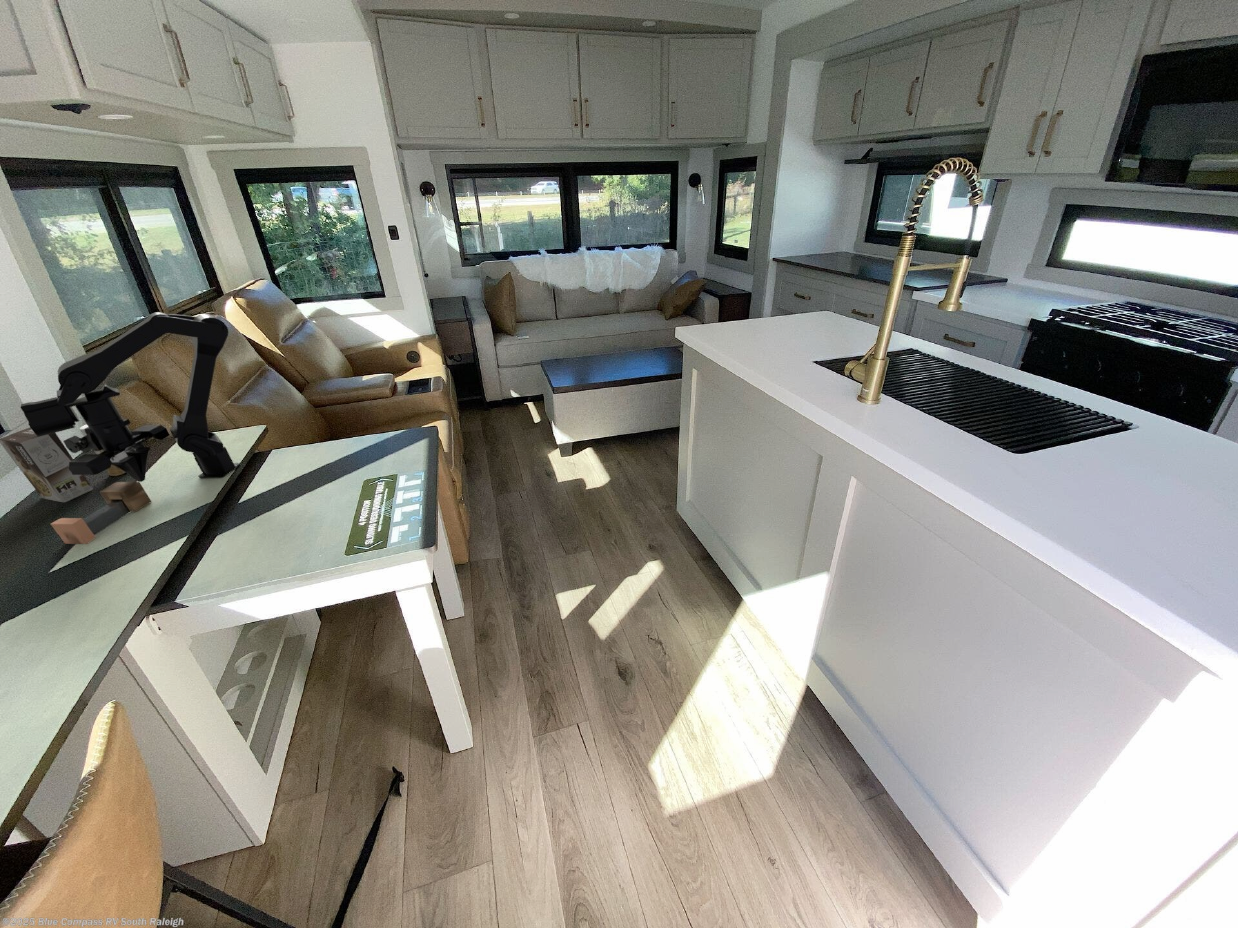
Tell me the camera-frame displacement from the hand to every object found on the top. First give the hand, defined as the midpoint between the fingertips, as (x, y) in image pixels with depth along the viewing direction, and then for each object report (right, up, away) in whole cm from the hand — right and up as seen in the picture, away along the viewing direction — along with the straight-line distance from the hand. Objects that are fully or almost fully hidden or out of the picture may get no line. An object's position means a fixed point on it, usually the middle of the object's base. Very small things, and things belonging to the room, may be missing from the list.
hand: (141, 480), depth 119 cm
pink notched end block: (-1, -12, -12) cm, 17 cm away
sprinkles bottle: (-18, +2, +13) cm, 22 cm away
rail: (-1, -8, -6) cm, 11 cm away
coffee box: (-23, -3, +5) cm, 23 cm away
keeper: (0, -6, -2) cm, 6 cm away
